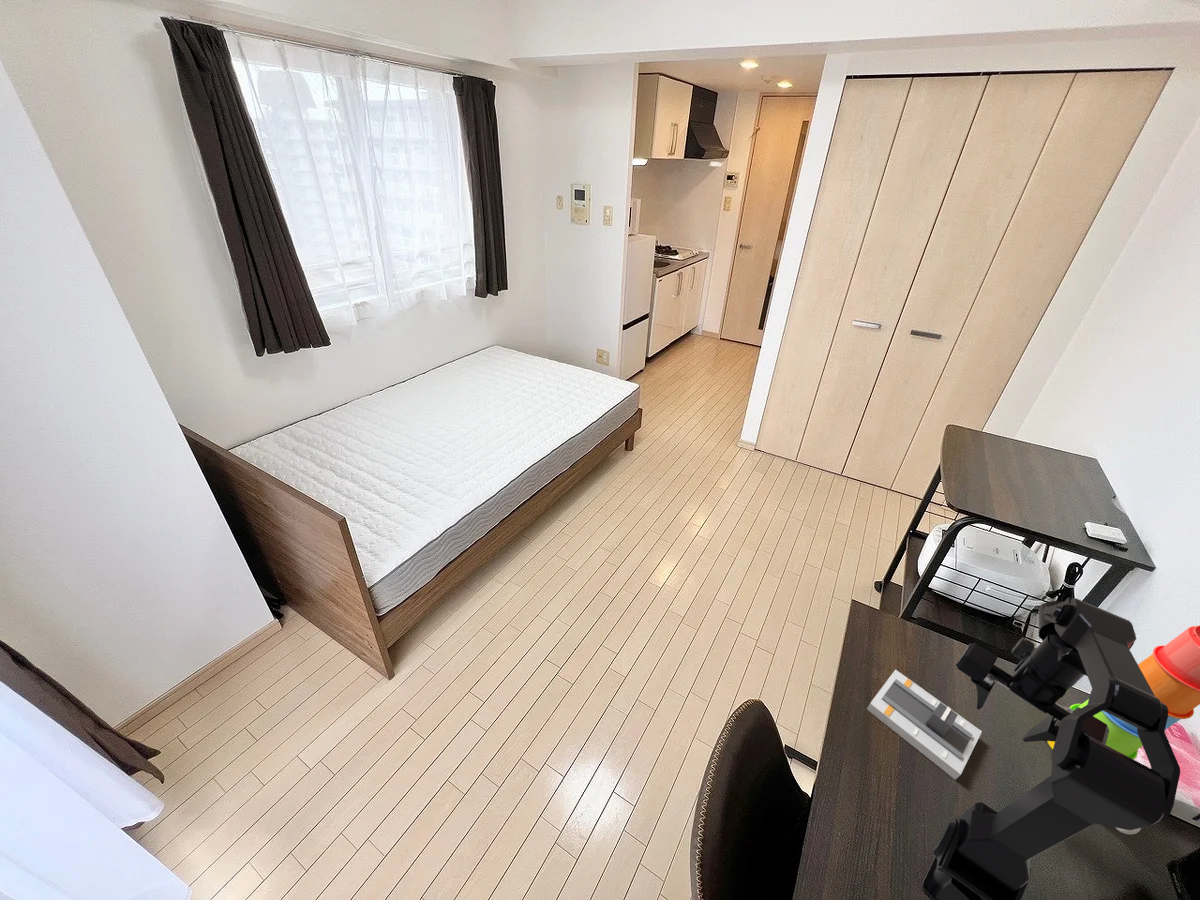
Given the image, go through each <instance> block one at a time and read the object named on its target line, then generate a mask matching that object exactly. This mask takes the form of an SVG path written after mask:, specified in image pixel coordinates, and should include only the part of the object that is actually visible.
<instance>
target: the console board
mask: <svg viewBox="0 0 1200 900" xmlns="http://www.w3.org/2000/svg"><path fill="white" fill-rule="evenodd" d="M940 702H941V703H942V704H944V703H943V702H942V701H940V700H939V699H938V698H936V697H935V696H933V695H932V694H930V693H929V692H928V691H926V690H925V689H924V688H922V687H920V685H919V684H917V683H915V681H912V680H911V679H909V678H908V676H906V675H904V674H902V673H901V672H900V671H898V670H897V669H895V670H894V671H893V672H892V674H891V675H889V678H887V680H886V681H885V683H884V684H883V685H882V687H881V688H880V689H879V690H878V691H877V693H876V695H875V696H874V698H873V699H872V700H871V702H870V703H869V704H868V706H867V707H866V710H867V711H868V712H869V713H871V714H872V715H873V716H875V717H876V718H877V719H878V720H880V721H881V722H882V723H883V724H884V725H886V726H887V727H888V728H890V729H891V730H892V731H893V732H895V733H896V734H897V735H898V736H900V737H901V738H902V739H904V740H905V742H908V744H910V745H911V746H913V747H914V748H915V749H916V750H917V751H918V752H919V753H920V754H922V755H923V756H924V757H926V758H927V759H928V760H930V761H931V762H933V764H934V765H936V766H937V767H938V768H940V769H941V770H942V771H943V772H944V773H946V774H947V775H949V777H951V778H952V779H953V780H955V781H956V780H957V779H958V778H959V777H960V776H961V775H962V773H963V771H964V769H965V767H966V764H967V763H968V761H969V759H970V758H971V757H970V756H971V754H972V753H973V750H975V749H974V748H975V747H976V744H977V742H978V741H979V738H980V737H981V735H982V732H983V731H982V730H981V729H979V728H978V727H976V726H975V725H973V724H972V723H971V722H970V721H968V720H966V719H965V718H964V717H963V716H961V715H960V714H958V713H957V712H955V711H954V710H953V709H951V710H952V711H953V712H955V713H956V714H958V716H957V717H956V719H955V721H954V723H953V724H952V726H951V728H950V729H949V730H948V731H947V732H946V733H945V735H944V736H943V737H942V736H941V735H939V734H938V733H937V732H935V731H934V730H933V729H931V728H930V727H929V726H927V725H926V722H927V720H928V719H929V717H930V715H931V714H932V712H933V711H934V710H935V708H936V707H937V706H938V705H939V703H940ZM944 705H945V706H946V707H948V705H946V704H944Z"/></svg>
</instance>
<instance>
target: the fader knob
mask: <svg viewBox="0 0 1200 900" xmlns="http://www.w3.org/2000/svg"><path fill="white" fill-rule="evenodd" d="M941 702H942V701H940V703H939V705H938V706H937V707H936V708H935V710H934V711H933V712H932V714H931V715H930V717H929V719H928V720H927V722H926V725H927V726H929V727H930V728H931V729H933V730H934V731H935V732H937V733H938V734H939V735H941V736H942V737H943V736H944V735H945V733H946V732H947V731H948V730H949V729H950V728H951V726H952V724H953V723H954V721H955V719H956V717H957V716H958V715H959V713H957V712H956V713H957V714H956V713H955V711H954V710H953V709H952V708H951V707H949V706H947V705H946V704H944V703H943V702H942V703H943V704H942V703H941ZM945 705H946V706H947V707H946V706H945ZM952 710H953V711H954V712H953V711H952Z"/></svg>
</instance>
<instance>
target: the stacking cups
mask: <svg viewBox="0 0 1200 900" xmlns="http://www.w3.org/2000/svg"><path fill="white" fill-rule="evenodd" d="M1137 664H1138V666H1139V668H1140V670H1141V671H1142V673H1143V675H1144V677H1145V679H1146V681H1147V682H1148V684H1149V686H1150V688H1151V690H1152V691H1153V693H1154V695H1155V696H1156V697H1157V698H1158V699H1159V700H1160V702H1162V703H1164V704H1165V705H1166V706H1167V708H1168V719H1167V723H1166V727H1165V731H1166V730H1167V729H1169V728H1170V727H1172V726H1173V725H1175V724H1176V723H1178V722H1179V721H1181V720H1187V719H1190V718H1192V717H1193V716H1194V713H1195V710H1194V709H1195V708H1197V707H1199V706H1200V625H1194V626H1193V625H1192V626H1190V627H1188V628H1187V629H1185V630H1183V632H1181V633H1180V634H1178V635H1177V636H1176V637H1175V638H1173V639H1172V640H1170V641H1169V642H1168V643H1167V644H1165V645H1158V646H1154V648H1153V650H1152V653H1151V654H1150V655H1149V656H1147V657H1146V658H1145V659H1144V660H1142V661H1141V662H1140V663H1137ZM1088 701H1089V698H1088V699H1086V700H1085V701H1084V702H1083V703H1074V704H1072V705H1070V706H1068V707H1069V708H1071V709H1072V710H1074V709H1076V708H1077V707H1079V708H1083V707H1084V706H1086V705H1087V704H1088ZM1094 717H1095V718H1097V719H1099V720H1100V721H1102V722H1104V723H1105V724H1107V726H1108V729H1109V734H1108V738H1107V741H1106V745H1107V746H1109V747H1111V748H1113V749H1114V750H1116V751H1118V752H1120V753H1122V754H1124V755H1126V756H1128V757H1130V758H1132V759H1133V760H1135V759H1136V758H1137V757H1138V752H1139V751H1138V750H1139V749H1141V748H1143V745H1142V743H1141V740H1140V738H1139V735H1138V732H1137V728H1136V727H1134V726H1132V725H1130V724H1129V723H1127V722H1125V721H1123V720H1121V719H1119V718H1117V717H1115V716H1113V715H1111V714H1109V713H1107V712H1105V711H1101V712H1099V713H1097V714H1095V715H1094ZM1046 742H1047V744H1048V746H1049V747H1050V749H1051V751H1052V750H1053V747H1054V744H1055V742H1053V741H1046Z"/></svg>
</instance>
